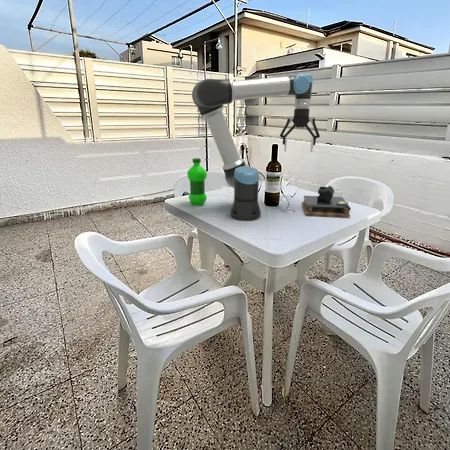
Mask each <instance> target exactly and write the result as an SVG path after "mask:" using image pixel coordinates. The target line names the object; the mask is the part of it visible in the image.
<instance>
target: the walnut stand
mask: <svg viewBox="0 0 450 450" xmlns="http://www.w3.org/2000/svg"><path fill="white" fill-rule="evenodd" d="M301 206H302V207H301V208H302V210H303V214H304V215H305V217H318V218H319V217H322V218H338V219H339V218H341V219H342V218H343V219H350V217H351V215H350V211H351V210H352V208H351V206H349V207H348V208H338V207H315V206H307V205H306V202H305V199H304V198H303V201H301Z"/></svg>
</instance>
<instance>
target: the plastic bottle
mask: <svg viewBox="0 0 450 450" xmlns="http://www.w3.org/2000/svg"><path fill="white" fill-rule="evenodd" d="M201 161H202V159H201V158H199V157H194V158H192V163H193V165H192V166H191V167H190V168H189V169H188V170H187V173H186V174H187V178H188V180H189V189H190V193H189V195H188V200H189V202H190V203H191V204H192V205H194V206H202V205H203V204H204V203H205V202H206V201H207V195H206V193H205V192H206V188H205V185H206V184H205V181H206V179H207V177H208V175H207V171H206V169H205V168H204V167H202V166H201V165H200V163H201Z"/></svg>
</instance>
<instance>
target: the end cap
mask: <svg viewBox="0 0 450 450" xmlns="http://www.w3.org/2000/svg"><path fill="white" fill-rule="evenodd" d="M317 194H318V195H316V196H317V199H318V200H317V202H322V203H327V202H328V201H330V200H331V199H332V197H334V194H335V189H334V187H333V186H331V185H328V186H320V187H319V189H318V190H317Z"/></svg>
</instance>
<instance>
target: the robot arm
mask: <svg viewBox="0 0 450 450" xmlns="http://www.w3.org/2000/svg"><path fill="white" fill-rule="evenodd" d="M312 88H313V74H312V73H299V74H297V75H289V76H287V75H286V76H275V77H265V78H263V77H262V78H253V79H244V80H243V79H242V80H231V79H230V78H225V79H224V78H222V79H221V78H219V79H218V78H205V79H203V80H201V81H199V82H197V83H196V84H195V85H194V87H193V88H192V93H191V97H192V101H193V103H194V105H195V106H196V107H197V110H198V112H199V114H200V116H201V117H202V118H204V119H205V120H206V123H207V126H208V128H209V130H210V132H211V136H212V138H213V140H214V143H215V145H216V147H217V150H218V152H219V153H218V154H219V156H220V158H221V159H222V160H221V161H222V162H223V165H222V171H223V173H224V178H225V182H226V183H227V184H228V185H229V186H230V187H232V188H233V197H234V198H233V201H232V206H231V209H230V217H231V218H232V219H234V220H239V221H255V220H258V219H260V218H261V217H262V216H261V215H262V212H261V208H260V204H259V185H260V184H259V183H260V172H259V170H258V169H257V168H255V167H252V166H248V165H246V162H245V160H244V158H241V157H240V155H239V153H238V150H237V147H236V145H235V142H234V139H233V136H232V134H231V130H230V129H229V128H230V127H229V126H228V123H227V120H226V118H225V115H224V113H223V110H224V107H225V106H224V105H228V104H229V105H230V104H232V103H233V102H234V101H235V102H236V101H243V100H252V99H259V98H260V99H262V98H270V97H281V96H294V111H293V118H289V117H288V118H287V119H286V123H285V125H284V127H283V128H282V130H281V131H280V134H279V137H280V138H282V145H283V146H284V147H283V149H284V150H283V151H284V152H287V140H288V138H287V137H288V135H290V134H291V133H292V131H293V130H294V129H295V128H298V129H299V128H303V129H304V128H305V129H307V131H308V133H309V134H310V135H311V137H312V138H311V142H310V150H309V151H310V152H311V153H313V150H314V149H313V148H314V146H316V140H317V139H318V138H321V136H320V135H321V134H320V133H319V131H318V127H317V125H316V119H315V118H310V107H311V98H312V91H313V90H312ZM291 123H293V125H292V126H291V127H290V128H289V129H288V127H289V124H291ZM309 123H311V124H312V128H313V130H314V132H315V134H314V132H313V130H312V129H311V128H310V127H309V125H308V124H309ZM287 129H288V130H287ZM286 130H287V131H286ZM285 132H286V133H285Z"/></svg>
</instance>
